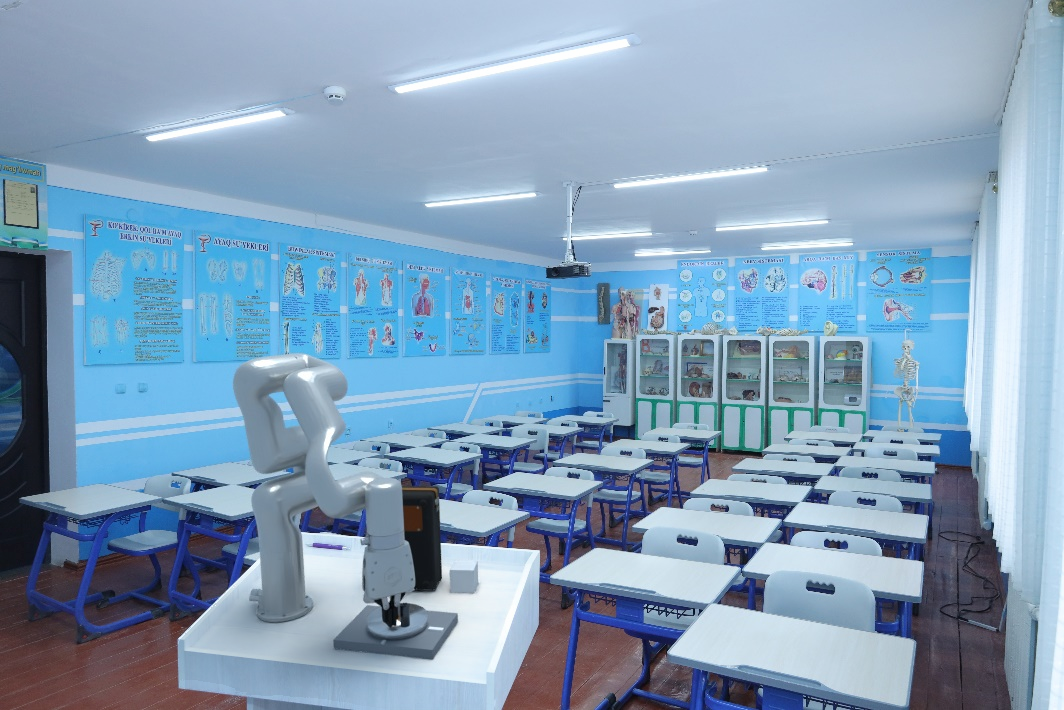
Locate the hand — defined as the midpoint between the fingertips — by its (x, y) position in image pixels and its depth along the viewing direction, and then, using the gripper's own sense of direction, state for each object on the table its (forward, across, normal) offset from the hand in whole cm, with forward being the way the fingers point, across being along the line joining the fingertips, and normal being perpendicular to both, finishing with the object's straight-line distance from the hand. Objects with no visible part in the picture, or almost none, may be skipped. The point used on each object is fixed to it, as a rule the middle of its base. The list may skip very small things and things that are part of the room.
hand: (390, 623), depth 148 cm
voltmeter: (+6, +15, +27) cm, 31 cm away
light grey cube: (+6, +26, +18) cm, 32 cm away
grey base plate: (+5, +3, +5) cm, 8 cm away
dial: (+3, +3, +5) cm, 7 cm away
